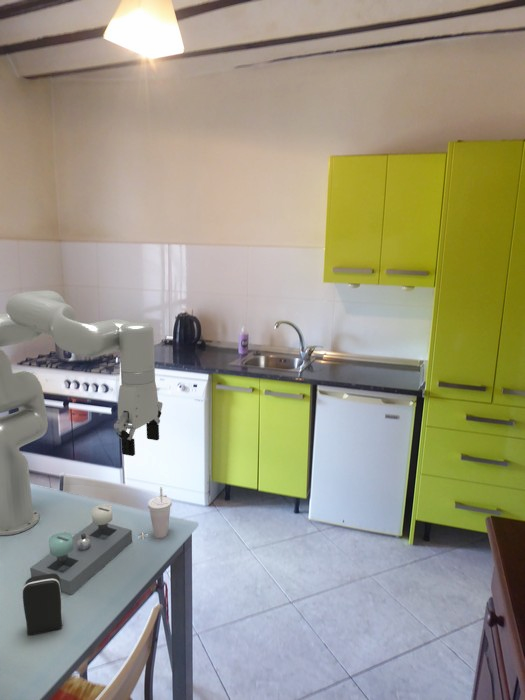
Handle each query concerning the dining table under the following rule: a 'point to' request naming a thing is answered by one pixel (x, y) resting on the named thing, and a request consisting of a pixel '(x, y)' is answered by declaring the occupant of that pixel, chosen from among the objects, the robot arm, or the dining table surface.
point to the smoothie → (160, 514)
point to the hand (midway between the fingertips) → (141, 446)
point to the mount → (85, 556)
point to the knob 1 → (61, 545)
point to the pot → (83, 542)
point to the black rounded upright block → (43, 603)
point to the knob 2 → (102, 516)
